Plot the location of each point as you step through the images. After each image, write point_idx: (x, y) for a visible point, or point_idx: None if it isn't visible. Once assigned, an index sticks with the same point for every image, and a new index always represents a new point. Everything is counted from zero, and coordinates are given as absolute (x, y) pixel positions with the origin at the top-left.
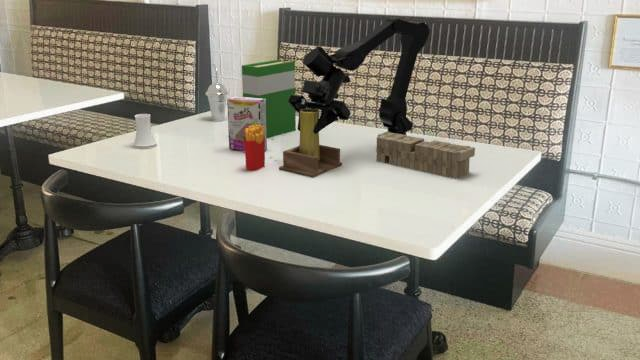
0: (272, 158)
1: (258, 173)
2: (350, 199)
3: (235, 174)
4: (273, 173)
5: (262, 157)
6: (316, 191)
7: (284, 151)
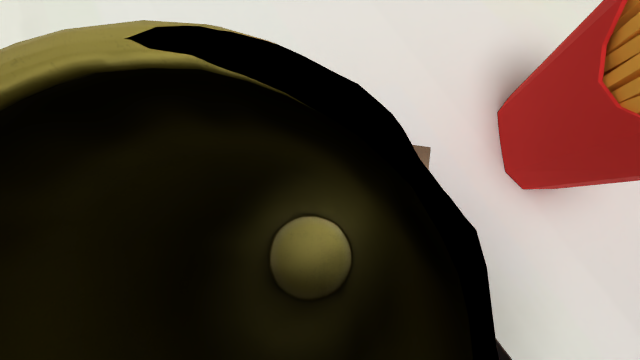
0: (562, 307)
1: (463, 82)
2: (50, 11)
3: (535, 31)
4: (409, 109)
5: (532, 138)
6: (171, 20)
7: (420, 148)
